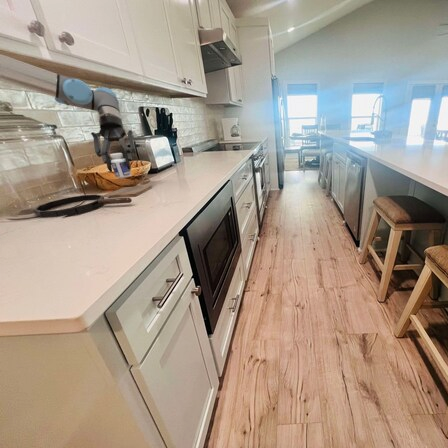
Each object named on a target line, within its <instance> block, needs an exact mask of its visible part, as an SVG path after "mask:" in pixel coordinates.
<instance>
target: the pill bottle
mask: <svg viewBox="0 0 448 448" xmlns="http://www.w3.org/2000/svg"><path fill="white" fill-rule="evenodd" d="M109 157H110V160H111V166H112V172H113V173H114V176H115V178H116V179H125V178H129V177H132V172H131V170H129V169H128V167H127V165H126V160H125V157H124V153H122V152H113V153H109Z"/></svg>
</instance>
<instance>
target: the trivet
mask: <svg viewBox="0 0 448 448" xmlns="http://www.w3.org/2000/svg"><path fill="white" fill-rule="evenodd" d="M152 188H153V187H152V185H145V186H144V185H143V186H141V185H140V186H125V187H124V186H123V187H121V188H118V189H116V190H114V191H111V192H109V193H106V194H104V195H103V197H104V198H105V197H106V199H112V198H132V197H137V196H139V195H141V194H143V193H145V192H147V191H149V190H151V189H152Z"/></svg>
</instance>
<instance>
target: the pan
mask: <svg viewBox="0 0 448 448" xmlns="http://www.w3.org/2000/svg"><path fill="white" fill-rule="evenodd" d="M86 201H92V202H88V203H85V204H81V205H78V206H77V205H76V206H73V207H67V208H61V209H56V210H55V209H54V210H53V209H52V208H56V207H60V206H63V205H64V206H65V205H68V204H73V203H78V202H86ZM132 201H133V200H132V197H114V198H105V197H104V195H101V194H82V195H76V196H69V197H64V198H61V199H55V200H52V201H48V202H45V203H42V204H40V205H37V206H36V207H35V208H34V209H33V212H34V214H35V216H36V217H39V218H58V217H61V218H62V219H64V218H70V217H74V216H75V217H76V216H79V215H80V216H81V215H83V214H86V213H89V212H93V211H96V210H98V209H100V208H102V207H104V206H105V205H116V204H131V203H132ZM50 209H52V210H50Z"/></svg>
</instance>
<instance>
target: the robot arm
mask: <svg viewBox="0 0 448 448" xmlns="http://www.w3.org/2000/svg"><path fill="white" fill-rule="evenodd" d="M0 82H2V83H6V84H9V85H12V86H15V87H18V88H19V87H20V88H23V89H26V90H29V91H32V92H36V93H40V94H43V95H46V96H48V97H49V96H50V97H52V98H54V101H55V102H56V103H58V104H62V105H65V106H71V107H75V108H81V109H85V110H90V111H95V112H97V117H98V123H99V124H98V125H99V131H98V132H91V133H90V135H91V136H92V138H93V147H94V152H95V154H96V156H97V157H98V158H100V157H102V161H103V163H104V164H105V165H106V168H107V171H109V173H112V172H113V168H112V165H111V160H112V159H111V157H110V154H109V152H110V148H111V145H112V142H119V144H120V145H121V146H122V148H123V149H124V151H123V156H124V159H125V160H126V165H127V167H128V169H129V170H130V171H131V170H132V168H131V163H130V162H133V157H132V155H133V154H134V155H135V154H137V149H136V145H135V141H134V137H135V135H134V133H133V131H132V129H130V130H128V131H127V130H126V129H124V124H123V119H122V115H121V110H120V105H119V100H118V97H117V95H116V93H115V92H114V91H113V90H112V89H110V88H107V87H97V88H95V90H94V89H91V87H90V85H88V84H87V83H86V82H85V81H83V80H80V79H77V78H70V77H67V76H64V75H62V74H58V73H56V72H53V71H50V70H47V69H45V68H41V67H38V66H36V65H33V64H30V63H28V62H25V61H22V60H19V59H15V58H13V57H11V56H7V55H4V54H1V53H0ZM101 137H102V138H103V143H102V147H101V141H100V140H101ZM124 137H127V138H128V142H129V146H130V147H128V145H127V143H126V142H125V141H124Z"/></svg>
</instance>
